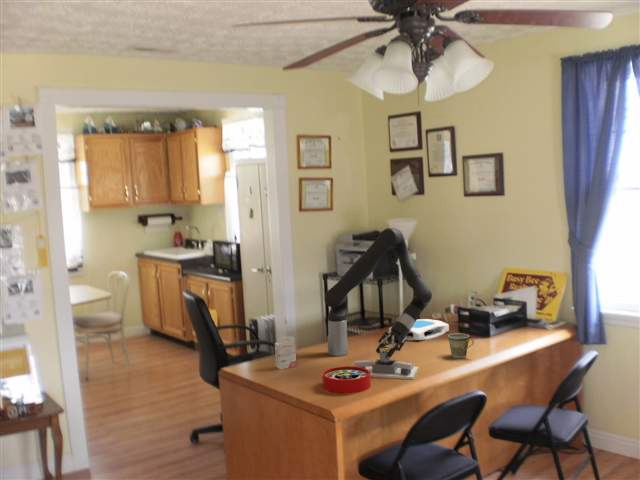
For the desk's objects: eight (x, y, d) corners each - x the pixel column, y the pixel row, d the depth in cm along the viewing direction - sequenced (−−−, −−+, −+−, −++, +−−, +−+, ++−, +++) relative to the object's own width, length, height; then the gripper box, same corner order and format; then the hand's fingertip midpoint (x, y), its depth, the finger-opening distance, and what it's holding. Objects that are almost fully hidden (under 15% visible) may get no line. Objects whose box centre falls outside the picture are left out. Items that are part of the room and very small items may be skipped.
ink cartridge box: (292, 364, 314) (290, 333, 313) (296, 366, 310) (295, 335, 308) (275, 367, 310) (274, 336, 309) (279, 369, 306) (278, 338, 304)
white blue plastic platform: (449, 333, 367) (449, 321, 366) (418, 342, 348) (418, 331, 347) (419, 328, 382) (419, 317, 381) (388, 337, 363) (387, 325, 362)
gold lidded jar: (382, 371, 292) (381, 349, 291) (378, 369, 296) (378, 347, 296) (391, 370, 293) (391, 348, 293) (388, 368, 297) (387, 346, 297)
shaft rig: (351, 376, 291) (351, 363, 291) (360, 366, 306) (359, 354, 306) (412, 379, 283) (412, 366, 283) (418, 368, 298) (418, 356, 298)
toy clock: (320, 367, 286) (366, 365, 287) (321, 380, 287) (367, 378, 288) (324, 381, 266) (373, 378, 268) (325, 395, 267) (374, 392, 268)
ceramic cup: (444, 357, 317) (443, 336, 316) (455, 352, 324) (454, 332, 323) (468, 361, 308) (467, 340, 307) (479, 356, 315) (478, 335, 314)
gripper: (389, 317, 303) (368, 346, 298) (407, 323, 290) (386, 352, 286) (398, 327, 306) (378, 356, 301) (417, 333, 293) (397, 362, 289)
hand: (382, 354), depth 293 cm, fingers open, 8 cm apart
